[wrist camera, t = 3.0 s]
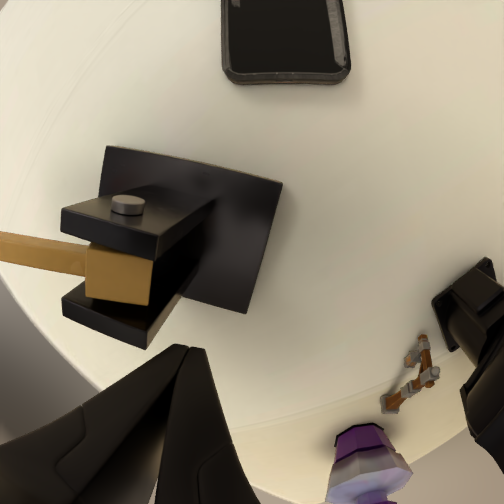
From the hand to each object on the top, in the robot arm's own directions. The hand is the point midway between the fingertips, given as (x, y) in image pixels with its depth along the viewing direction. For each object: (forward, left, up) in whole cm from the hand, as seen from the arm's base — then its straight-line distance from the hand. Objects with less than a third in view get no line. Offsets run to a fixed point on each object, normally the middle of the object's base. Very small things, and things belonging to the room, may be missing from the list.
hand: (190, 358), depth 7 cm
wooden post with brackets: (-17, -4, -13) cm, 22 cm away
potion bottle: (-24, +3, -13) cm, 28 cm away
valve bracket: (+3, +3, -13) cm, 13 cm away
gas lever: (+7, +7, -4) cm, 11 cm away
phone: (+13, -12, -13) cm, 22 cm away
